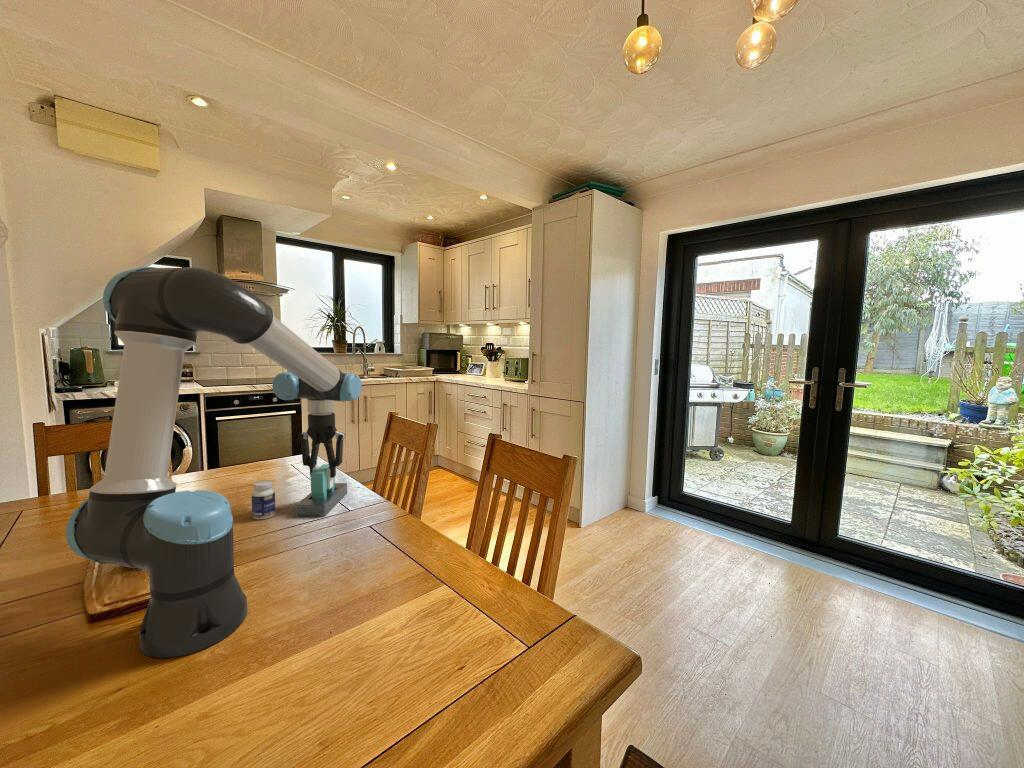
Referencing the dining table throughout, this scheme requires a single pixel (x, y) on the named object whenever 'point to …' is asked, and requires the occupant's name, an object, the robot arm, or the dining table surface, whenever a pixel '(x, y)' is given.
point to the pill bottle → (263, 500)
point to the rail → (321, 502)
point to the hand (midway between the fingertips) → (323, 487)
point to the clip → (320, 483)
